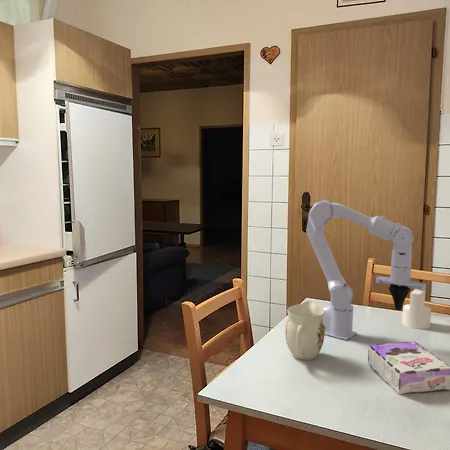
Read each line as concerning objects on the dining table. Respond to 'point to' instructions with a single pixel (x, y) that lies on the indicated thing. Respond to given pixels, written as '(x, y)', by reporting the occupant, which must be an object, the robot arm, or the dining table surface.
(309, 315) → the pitcher
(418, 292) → the base with upright slab
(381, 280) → the robot arm
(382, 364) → the candy box
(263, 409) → the dining table surface
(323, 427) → the dining table surface
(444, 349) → the dining table surface
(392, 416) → the dining table surface
